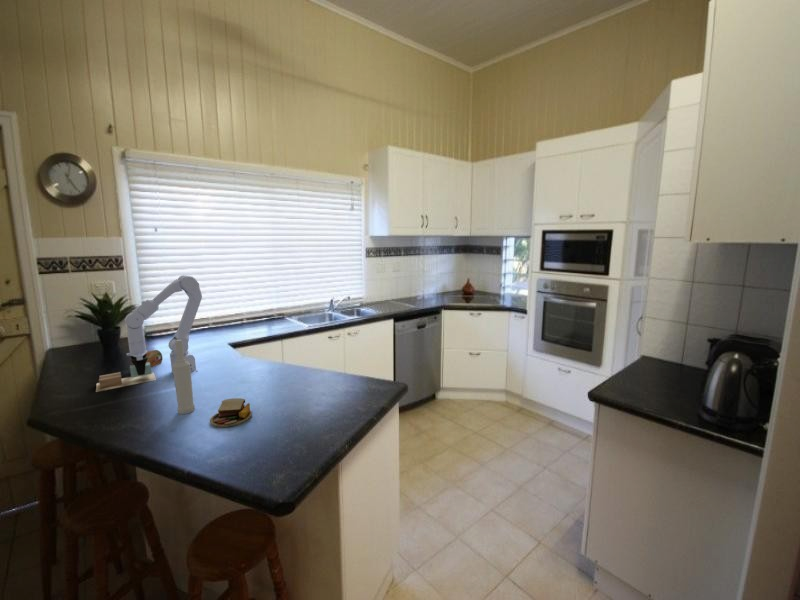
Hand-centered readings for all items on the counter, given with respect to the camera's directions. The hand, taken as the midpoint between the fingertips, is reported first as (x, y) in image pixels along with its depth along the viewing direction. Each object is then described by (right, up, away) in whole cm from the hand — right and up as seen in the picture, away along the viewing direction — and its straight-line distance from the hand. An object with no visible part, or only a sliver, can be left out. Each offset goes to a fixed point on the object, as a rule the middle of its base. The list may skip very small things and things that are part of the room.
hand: (141, 372), depth 160 cm
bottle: (+36, -8, -30) cm, 48 cm away
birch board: (-4, -4, -2) cm, 6 cm away
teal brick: (0, -1, 0) cm, 1 cm away
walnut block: (-9, -4, -5) cm, 11 cm away
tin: (-8, -2, +16) cm, 18 cm away
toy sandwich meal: (+54, -8, -36) cm, 66 cm away
